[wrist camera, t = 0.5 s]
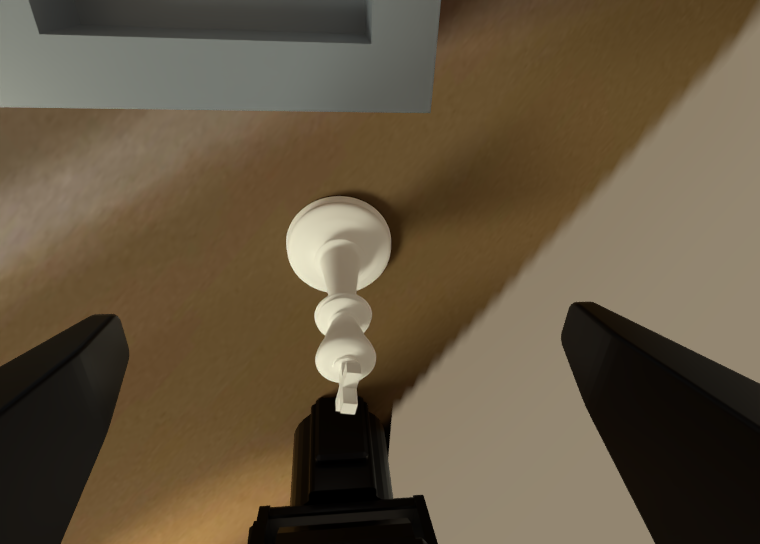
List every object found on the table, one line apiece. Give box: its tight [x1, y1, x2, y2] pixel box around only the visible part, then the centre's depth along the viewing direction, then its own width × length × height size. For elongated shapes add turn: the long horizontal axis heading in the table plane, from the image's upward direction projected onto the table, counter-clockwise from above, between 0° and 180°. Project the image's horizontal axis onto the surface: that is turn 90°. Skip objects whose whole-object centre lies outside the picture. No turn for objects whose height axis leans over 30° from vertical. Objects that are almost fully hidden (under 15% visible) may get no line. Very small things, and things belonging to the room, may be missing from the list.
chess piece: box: [286, 196, 391, 415], centre depth 18 cm, size 5×5×10 cm
